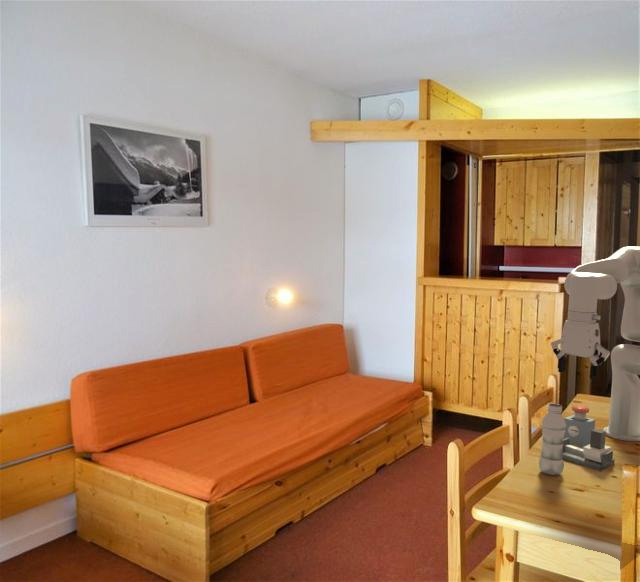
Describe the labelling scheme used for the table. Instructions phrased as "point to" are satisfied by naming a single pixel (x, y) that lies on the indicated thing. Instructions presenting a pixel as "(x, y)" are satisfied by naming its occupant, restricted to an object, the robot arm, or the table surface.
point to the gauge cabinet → (579, 431)
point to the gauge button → (580, 412)
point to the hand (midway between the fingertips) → (577, 375)
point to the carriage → (596, 446)
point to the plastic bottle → (552, 441)
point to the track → (577, 457)
